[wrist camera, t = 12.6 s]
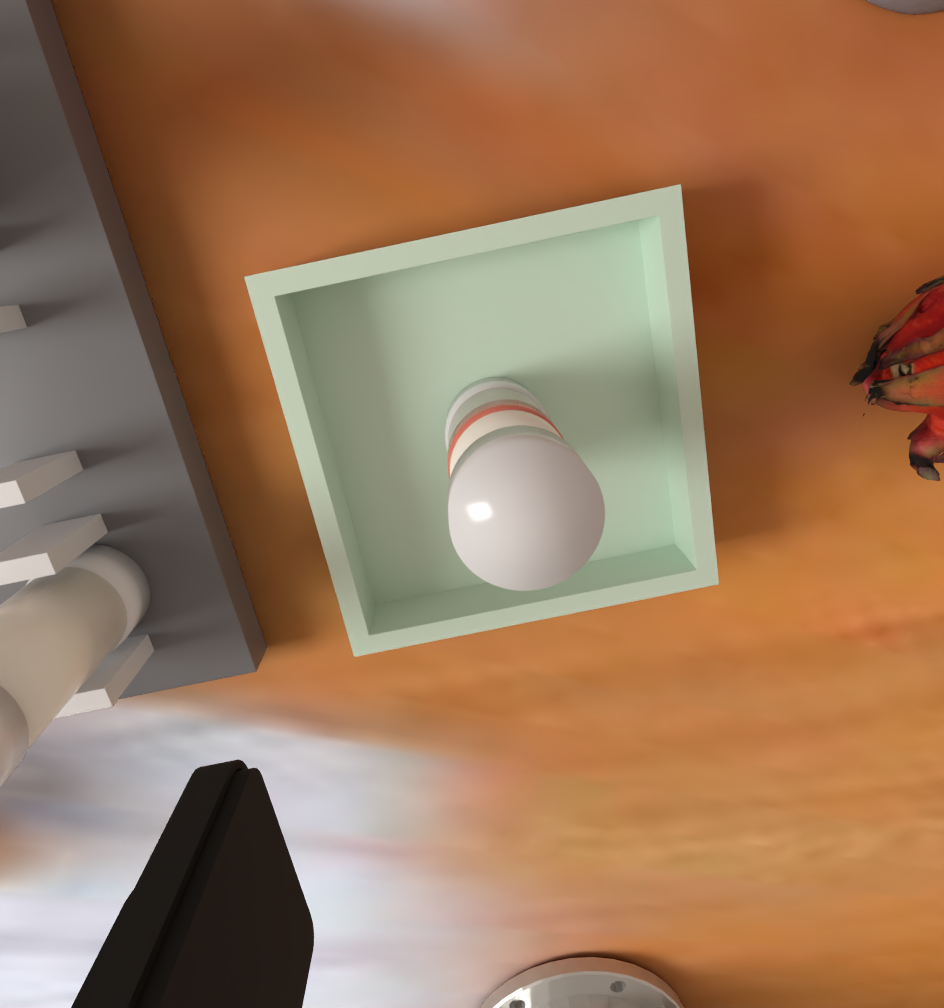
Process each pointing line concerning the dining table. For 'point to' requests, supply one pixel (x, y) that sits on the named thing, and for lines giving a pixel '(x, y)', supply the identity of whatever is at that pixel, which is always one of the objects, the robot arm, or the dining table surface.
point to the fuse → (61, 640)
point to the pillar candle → (910, 6)
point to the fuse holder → (98, 393)
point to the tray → (495, 353)
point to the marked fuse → (517, 489)
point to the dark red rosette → (912, 373)
